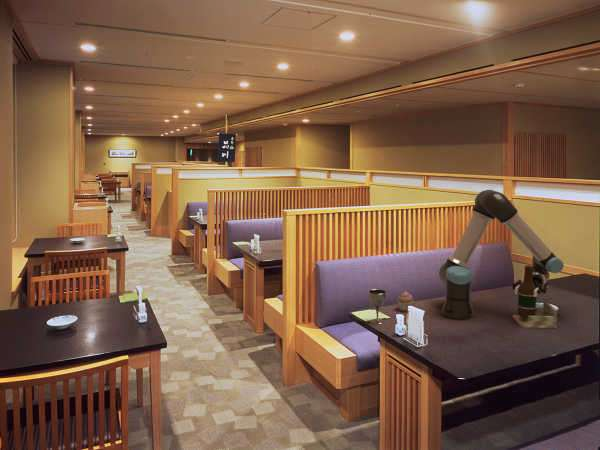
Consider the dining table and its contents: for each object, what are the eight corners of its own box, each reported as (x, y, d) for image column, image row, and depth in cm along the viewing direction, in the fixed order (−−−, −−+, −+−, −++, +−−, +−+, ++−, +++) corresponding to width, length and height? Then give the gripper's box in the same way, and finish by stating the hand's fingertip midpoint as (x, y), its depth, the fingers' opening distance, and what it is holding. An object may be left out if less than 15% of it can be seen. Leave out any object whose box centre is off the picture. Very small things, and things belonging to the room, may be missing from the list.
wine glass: (381, 325, 224) (382, 294, 222) (366, 322, 229) (366, 292, 226) (388, 320, 231) (388, 290, 229) (373, 317, 235) (373, 288, 233)
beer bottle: (537, 318, 219) (540, 268, 215) (519, 318, 220) (521, 267, 217) (532, 313, 226) (535, 264, 223) (515, 312, 228) (517, 264, 224)
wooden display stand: (521, 327, 218) (522, 310, 216) (512, 317, 231) (513, 300, 230) (556, 328, 216) (557, 310, 215) (545, 317, 229) (546, 301, 228)
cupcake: (410, 306, 251) (411, 288, 249) (417, 312, 242) (417, 293, 240) (393, 307, 250) (394, 289, 248) (399, 313, 240) (399, 294, 239)
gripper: (558, 291, 230) (549, 304, 212) (513, 285, 242) (501, 296, 224) (559, 276, 229) (550, 288, 211) (514, 271, 241) (502, 281, 223)
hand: (525, 292), depth 218 cm, fingers closed on beer bottle, 7 cm apart
